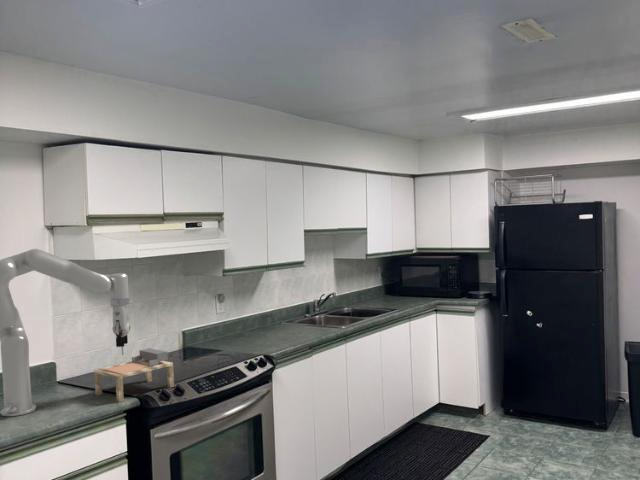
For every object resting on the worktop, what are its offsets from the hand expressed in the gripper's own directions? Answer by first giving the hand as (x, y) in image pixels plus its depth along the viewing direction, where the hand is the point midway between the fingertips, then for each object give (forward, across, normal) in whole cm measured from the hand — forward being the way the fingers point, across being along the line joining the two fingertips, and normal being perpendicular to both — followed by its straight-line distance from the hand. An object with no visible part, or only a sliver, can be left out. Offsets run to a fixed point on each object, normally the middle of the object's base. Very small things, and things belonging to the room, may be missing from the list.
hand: (122, 344), depth 250 cm
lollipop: (+5, 0, 0) cm, 5 cm away
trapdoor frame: (+21, +4, -4) cm, 22 cm away
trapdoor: (+11, +4, -5) cm, 13 cm away
